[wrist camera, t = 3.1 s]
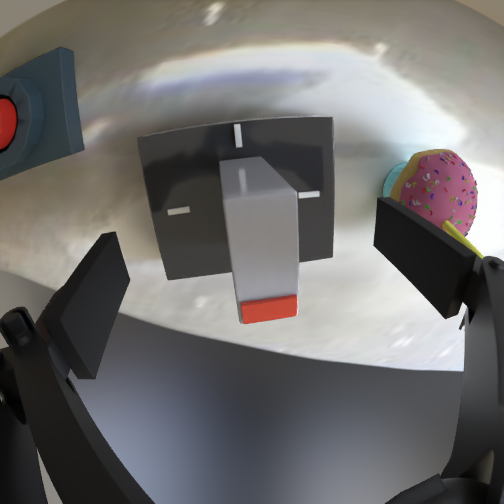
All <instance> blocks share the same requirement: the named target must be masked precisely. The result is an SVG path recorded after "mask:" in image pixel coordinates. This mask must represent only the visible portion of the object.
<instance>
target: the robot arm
mask: <svg viewBox="0 0 504 504" xmlns="http://www.w3.org/2000/svg"><path fill="white" fill-rule="evenodd" d="M373 246H374V247H375V248H376V249H377V250H379V251H380V252H381V253H382V254H383V255H384V256H385V257H386V258H387V259H388V260H389V261H390V262H391V263H392V264H393V265H394V266H395V267H396V268H397V269H398V270H399V271H400V272H401V273H402V274H403V275H404V276H405V277H406V278H407V279H408V280H409V281H410V282H411V283H412V284H413V285H414V286H415V287H416V288H417V289H418V290H419V291H420V292H421V294H422V295H423V296H424V297H425V298H426V299H427V300H428V301H429V302H430V303H431V304H432V305H433V306H434V307H435V308H436V310H437V311H438V312H439V313H440V314H441V315H442V316H443V317H444V318H445V319H447V318H450V317H453V316H455V315H458V313H459V310H460V307H461V305H462V302H463V303H464V304H465V305H466V306H467V309H466V312H465V314H464V317H463V319H462V322H461V324H460V327H459V329H460V330H461V329H462V326H464V325H465V330H464V331H465V355H464V375H463V386H462V396H461V405H460V412H459V419H458V425H457V431H456V436H455V441H454V446H453V451H452V454H451V458H450V460H449V462H448V463H447V465H446V467H445V468H444V470H443V472H442V474H441V476H440V475H439V473H438V474H436V475H434V476H433V477H431V478H429V479H427V480H425V481H423V482H421V483H419V484H417V485H415V486H413V487H411V488H409V489H407V490H404V491H403V492H400V493H399V494H398V495H396V496H395V497H393V498H392V499H391V500H389V501H388V502H386V503H385V504H504V261H502V260H501V259H499V258H497V257H492V256H486V257H484V258H483V259H482V258H481V257H479V256H478V255H477V254H476V253H475V252H473V251H472V250H471V249H469V248H468V247H466V246H465V245H464V244H462V243H461V242H459V241H458V240H456V239H455V238H454V237H452V236H451V235H449V234H448V233H446V232H445V231H443V230H442V229H440V228H439V227H437V226H436V225H434V224H433V223H431V222H430V221H428V220H427V219H425V218H423V217H422V216H420V215H419V214H417V213H415V212H414V211H412V210H411V209H409V208H407V207H406V206H404V205H402V204H401V203H399V202H397V201H396V200H394V199H392V198H390V197H380V198H377V210H376V223H375V235H374V245H373ZM129 282H130V277H129V274H128V271H127V268H126V265H125V262H124V259H123V255H122V252H121V249H120V245H119V242H118V238H117V235H116V231H115V232H109V233H104V234H101V236H100V237H99V238H98V240H97V241H96V242H95V243H94V245H93V246H92V247H91V249H90V250H89V251H88V253H87V254H86V255H85V257H84V258H83V259H82V261H81V262H80V264H79V265H78V266H77V268H76V269H75V270H74V272H73V273H72V275H71V276H70V278H69V279H68V280H67V282H66V283H65V285H64V286H62V287H61V288H60V289H59V290H58V291H57V292H56V293H55V294H54V295H53V296H52V298H51V300H50V301H49V302H50V303H48V304H47V306H46V307H45V308H46V309H44V310H43V312H42V313H41V315H40V317H39V318H38V320H37V321H36V323H34V321H33V320H32V318H31V316H30V314H29V313H28V310H27V309H26V308H25V307H16V308H14V309H12V310H10V311H9V312H7V313H6V314H5V315H4V316H3V317H2V318H1V319H0V332H1V334H2V336H3V337H4V339H5V340H6V342H7V344H8V345H9V347H6V348H2V349H0V397H1V398H2V401H1V399H0V504H48V501H47V498H46V494H45V490H44V485H43V481H42V476H41V471H40V466H39V460H38V454H37V449H38V452H39V454H40V457H41V459H42V461H43V464H44V466H45V468H46V471H47V473H48V475H49V477H50V479H51V481H52V483H53V485H54V487H55V489H56V491H57V493H58V495H59V497H60V499H61V501H62V503H63V504H155V503H154V502H153V501H152V500H151V498H150V497H149V496H148V495H147V494H146V493H145V491H143V489H142V488H141V487H140V486H139V484H138V483H137V482H136V481H135V479H134V478H133V477H132V476H131V474H130V473H129V472H128V471H127V469H126V468H125V467H124V465H123V464H122V463H121V461H120V460H119V458H118V457H117V456H116V454H115V453H114V452H113V450H112V449H111V447H110V446H109V444H108V443H107V441H106V440H105V438H104V437H103V435H102V434H101V432H100V431H99V429H98V428H97V426H96V424H95V423H94V421H93V419H92V418H91V416H90V415H89V413H88V411H87V409H86V407H85V406H84V404H83V402H82V400H81V398H80V397H79V395H78V393H77V391H76V389H75V387H74V385H73V383H72V382H71V380H70V379H69V377H68V373H69V371H70V368H71V369H72V371H73V372H74V374H75V375H76V377H77V378H78V379H95V378H96V375H97V371H98V368H99V365H100V362H101V359H102V356H103V353H104V350H105V347H106V344H107V341H108V338H109V335H110V332H111V329H112V327H113V323H114V321H115V318H116V316H117V313H118V310H119V308H120V305H121V302H122V300H123V297H124V295H125V292H126V290H127V287H128V285H129ZM489 484H490V485H489Z"/></svg>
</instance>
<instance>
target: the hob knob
mask: <svg viewBox="0 0 504 504" xmlns="http://www.w3.org/2000/svg"><path fill="white" fill-rule="evenodd" d="M219 171H220V181H221V191H222V201H223V209H224V217H225V224H226V232H227V239H228V246H229V253H230V260H231V268H232V274H233V281H234V288H235V295H236V302H237V308H238V315H239V322H240V323H241V324H249V323H256V322H262V321H269V320H275V319H281V318H287V317H293V316H297V315H298V314H299V234H298V199H297V191H296V190H295V189H294V188H293V187H292V186H291V185H290V184H289V183H288V182H287V181H286V180H285V179H284V178H283V177H282V176H281V175H280V174H279V173H278V172H277V171H276V170H275V169H274V168H273V167H272V166H271V165H270V164H269V163H268V162H267V161H266V160H264V159H263V158H262V157H261V156H260V157H250V158H241V159H233V160H225V161H219Z"/></svg>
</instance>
